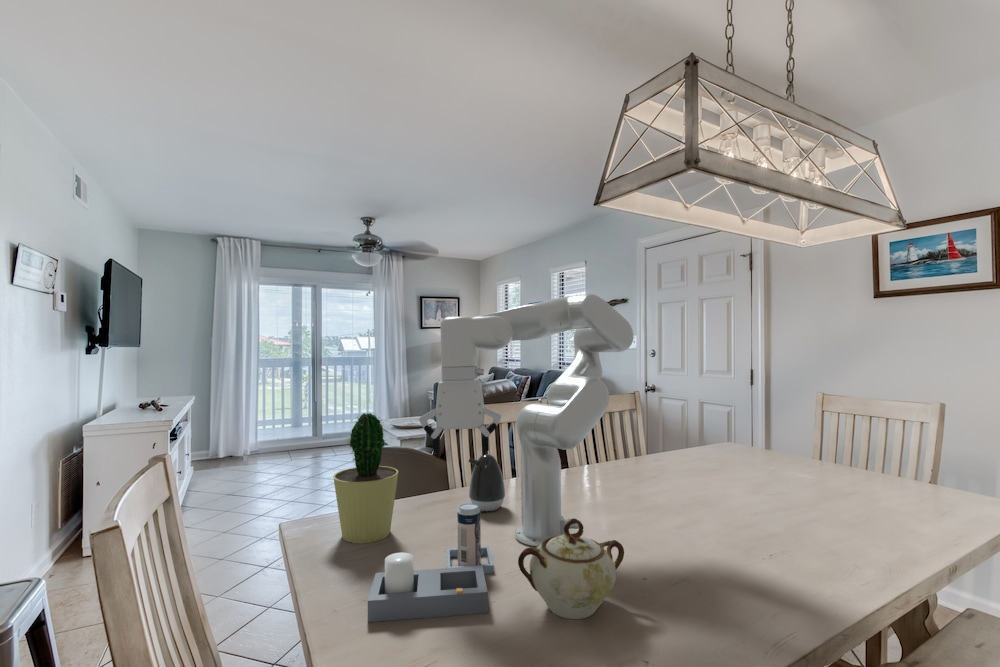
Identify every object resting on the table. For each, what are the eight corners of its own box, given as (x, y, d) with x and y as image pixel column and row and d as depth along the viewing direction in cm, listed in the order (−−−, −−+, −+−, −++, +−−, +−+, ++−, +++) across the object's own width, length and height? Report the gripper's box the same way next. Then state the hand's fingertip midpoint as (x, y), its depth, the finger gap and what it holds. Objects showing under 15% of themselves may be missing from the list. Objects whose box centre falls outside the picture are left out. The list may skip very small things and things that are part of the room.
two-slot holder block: (482, 584, 92) (482, 542, 93) (487, 612, 83) (487, 565, 83) (375, 591, 90) (375, 548, 90) (367, 622, 80) (367, 573, 80)
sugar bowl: (605, 579, 94) (604, 501, 94) (646, 621, 79) (644, 529, 80) (507, 592, 89) (506, 510, 90) (531, 640, 75) (530, 542, 75)
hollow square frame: (488, 553, 106) (488, 546, 106) (493, 572, 97) (493, 565, 97) (446, 556, 105) (446, 549, 105) (447, 575, 96) (447, 568, 96)
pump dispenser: (464, 505, 139) (463, 452, 139) (498, 501, 142) (497, 449, 143) (474, 517, 129) (473, 459, 130) (510, 512, 133) (510, 456, 133)
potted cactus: (330, 528, 122) (330, 409, 123) (391, 519, 128) (391, 405, 129) (336, 552, 108) (336, 417, 109) (404, 540, 114) (404, 412, 115)
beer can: (483, 567, 100) (483, 508, 100) (461, 571, 98) (460, 511, 98) (476, 557, 104) (476, 501, 105) (455, 561, 103) (454, 504, 103)
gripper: (498, 372, 107) (500, 450, 107) (420, 374, 106) (422, 453, 106) (500, 374, 100) (503, 458, 99) (416, 377, 99) (418, 461, 98)
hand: (461, 455), depth 102 cm, fingers open, 9 cm apart
